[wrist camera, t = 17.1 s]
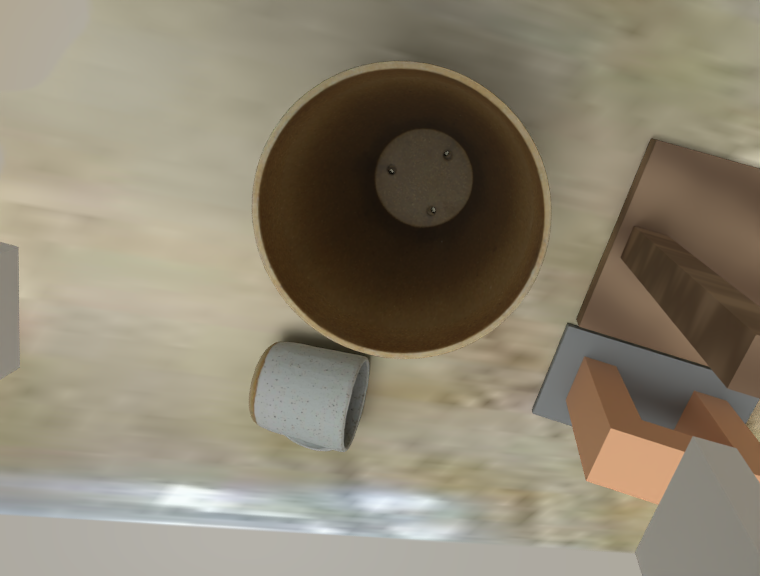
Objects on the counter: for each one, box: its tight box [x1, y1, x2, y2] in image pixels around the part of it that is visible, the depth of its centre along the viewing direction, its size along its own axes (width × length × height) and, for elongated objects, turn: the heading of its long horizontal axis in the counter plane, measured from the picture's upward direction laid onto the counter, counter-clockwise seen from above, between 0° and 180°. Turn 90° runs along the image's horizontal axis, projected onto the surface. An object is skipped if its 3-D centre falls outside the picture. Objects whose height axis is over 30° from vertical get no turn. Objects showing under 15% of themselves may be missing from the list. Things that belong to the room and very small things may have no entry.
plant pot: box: [252, 61, 551, 359], centre depth 36 cm, size 15×15×16 cm
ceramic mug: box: [249, 342, 369, 452], centre depth 48 cm, size 11×8×8 cm
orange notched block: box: [566, 356, 760, 505], centre depth 41 cm, size 11×4×10 cm, turn 75°
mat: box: [532, 323, 759, 430], centre depth 46 cm, size 8×15×1 cm, turn 75°
